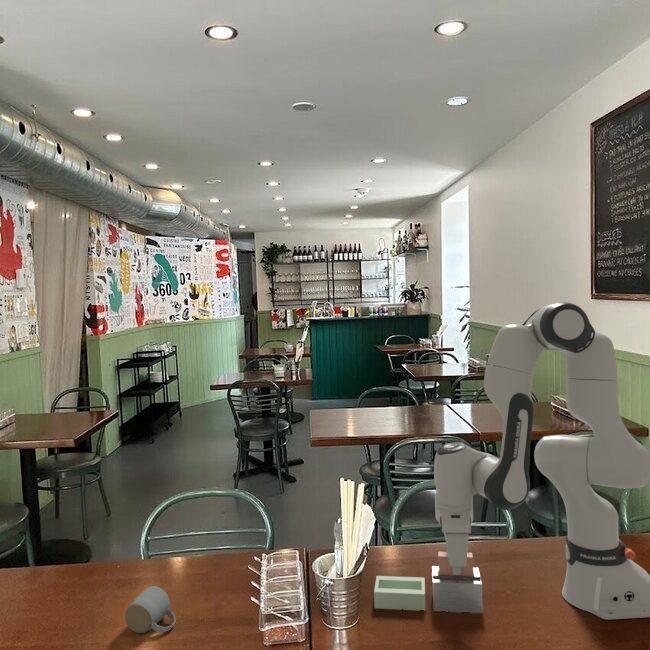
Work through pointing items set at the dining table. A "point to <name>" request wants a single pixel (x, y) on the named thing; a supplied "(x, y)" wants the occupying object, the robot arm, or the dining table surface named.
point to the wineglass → (338, 527)
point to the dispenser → (457, 592)
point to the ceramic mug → (149, 611)
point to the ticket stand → (399, 593)
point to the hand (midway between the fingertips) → (455, 568)
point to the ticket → (448, 571)
